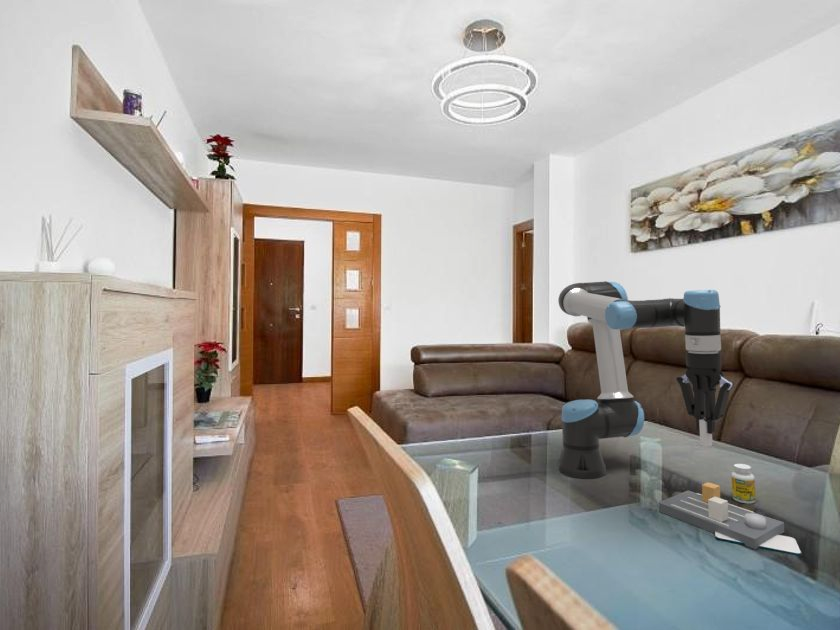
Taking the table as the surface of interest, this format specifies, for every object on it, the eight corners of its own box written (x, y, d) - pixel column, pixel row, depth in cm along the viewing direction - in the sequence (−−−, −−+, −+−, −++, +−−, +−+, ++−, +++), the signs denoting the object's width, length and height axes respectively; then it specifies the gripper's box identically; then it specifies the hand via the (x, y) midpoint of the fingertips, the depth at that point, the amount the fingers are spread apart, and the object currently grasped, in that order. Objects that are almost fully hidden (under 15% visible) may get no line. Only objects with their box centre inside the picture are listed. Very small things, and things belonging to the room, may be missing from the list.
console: (658, 511, 122) (658, 495, 122) (688, 498, 128) (687, 483, 128) (755, 549, 101) (754, 530, 101) (784, 532, 108) (783, 514, 108)
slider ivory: (708, 517, 112) (708, 499, 112) (715, 514, 113) (714, 496, 113) (721, 522, 109) (721, 503, 109) (728, 518, 110) (727, 500, 110)
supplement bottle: (754, 497, 127) (753, 464, 127) (757, 505, 122) (756, 470, 122) (731, 494, 129) (729, 461, 129) (733, 502, 125) (732, 467, 125)
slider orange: (702, 501, 120) (701, 484, 120) (708, 498, 122) (708, 482, 122) (714, 505, 118) (713, 488, 118) (720, 502, 119) (719, 485, 119)
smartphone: (795, 541, 105) (713, 526, 113) (795, 537, 105) (713, 522, 113) (802, 558, 98) (715, 541, 106) (802, 554, 98) (715, 537, 106)
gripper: (668, 351, 116) (672, 441, 117) (722, 355, 105) (726, 455, 105) (685, 348, 120) (688, 436, 120) (739, 352, 108) (743, 449, 109)
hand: (706, 445), depth 113 cm, fingers closed
